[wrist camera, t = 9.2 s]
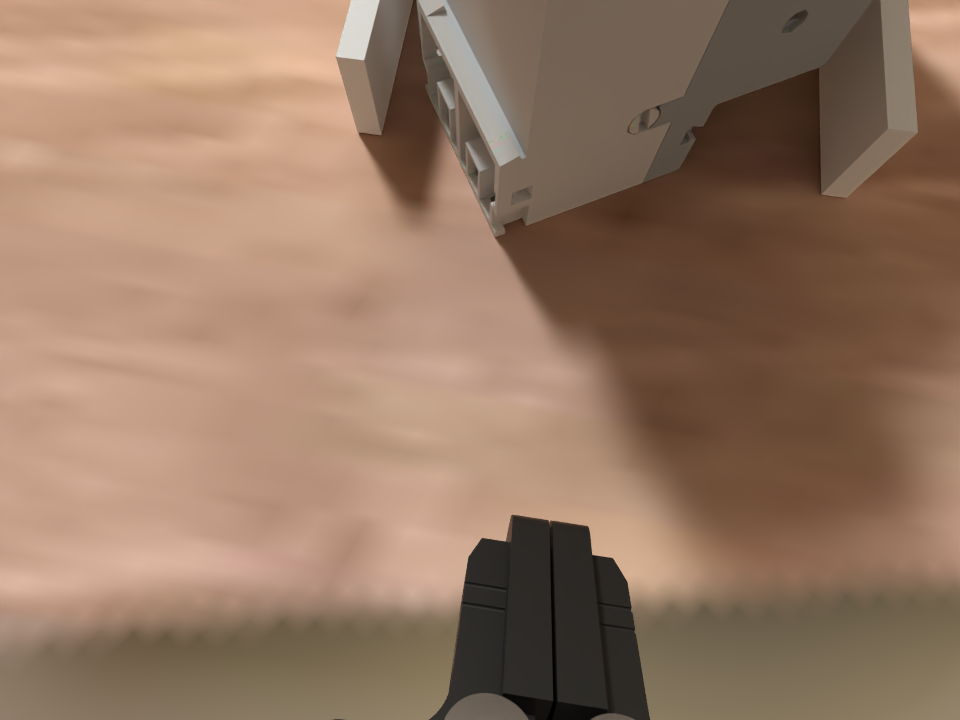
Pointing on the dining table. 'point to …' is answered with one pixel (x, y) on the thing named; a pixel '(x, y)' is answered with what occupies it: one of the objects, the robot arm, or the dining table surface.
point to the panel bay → (842, 85)
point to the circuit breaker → (602, 86)
